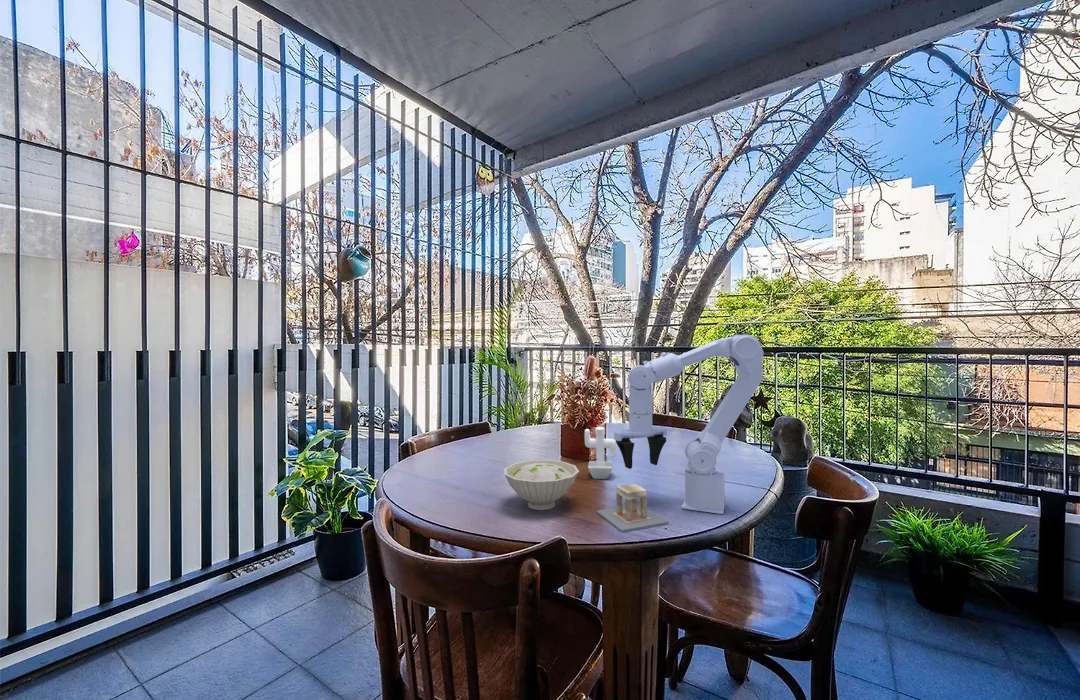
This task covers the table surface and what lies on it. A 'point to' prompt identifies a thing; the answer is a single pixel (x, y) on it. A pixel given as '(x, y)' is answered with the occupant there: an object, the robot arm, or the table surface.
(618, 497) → the stool
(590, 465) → the figurine
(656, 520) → the mat
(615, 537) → the table surface
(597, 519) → the table surface
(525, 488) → the bowl
